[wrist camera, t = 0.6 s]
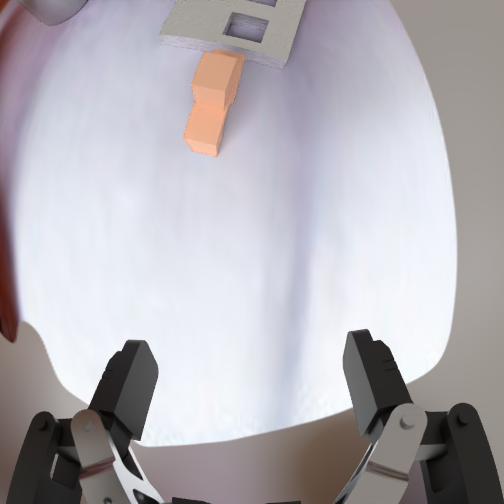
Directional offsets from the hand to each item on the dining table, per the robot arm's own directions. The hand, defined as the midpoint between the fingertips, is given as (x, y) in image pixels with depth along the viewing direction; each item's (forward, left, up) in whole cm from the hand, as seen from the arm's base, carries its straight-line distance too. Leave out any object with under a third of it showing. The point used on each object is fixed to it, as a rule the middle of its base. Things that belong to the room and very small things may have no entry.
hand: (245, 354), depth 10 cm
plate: (-7, +30, -24) cm, 39 cm away
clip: (-5, +14, -24) cm, 28 cm away
